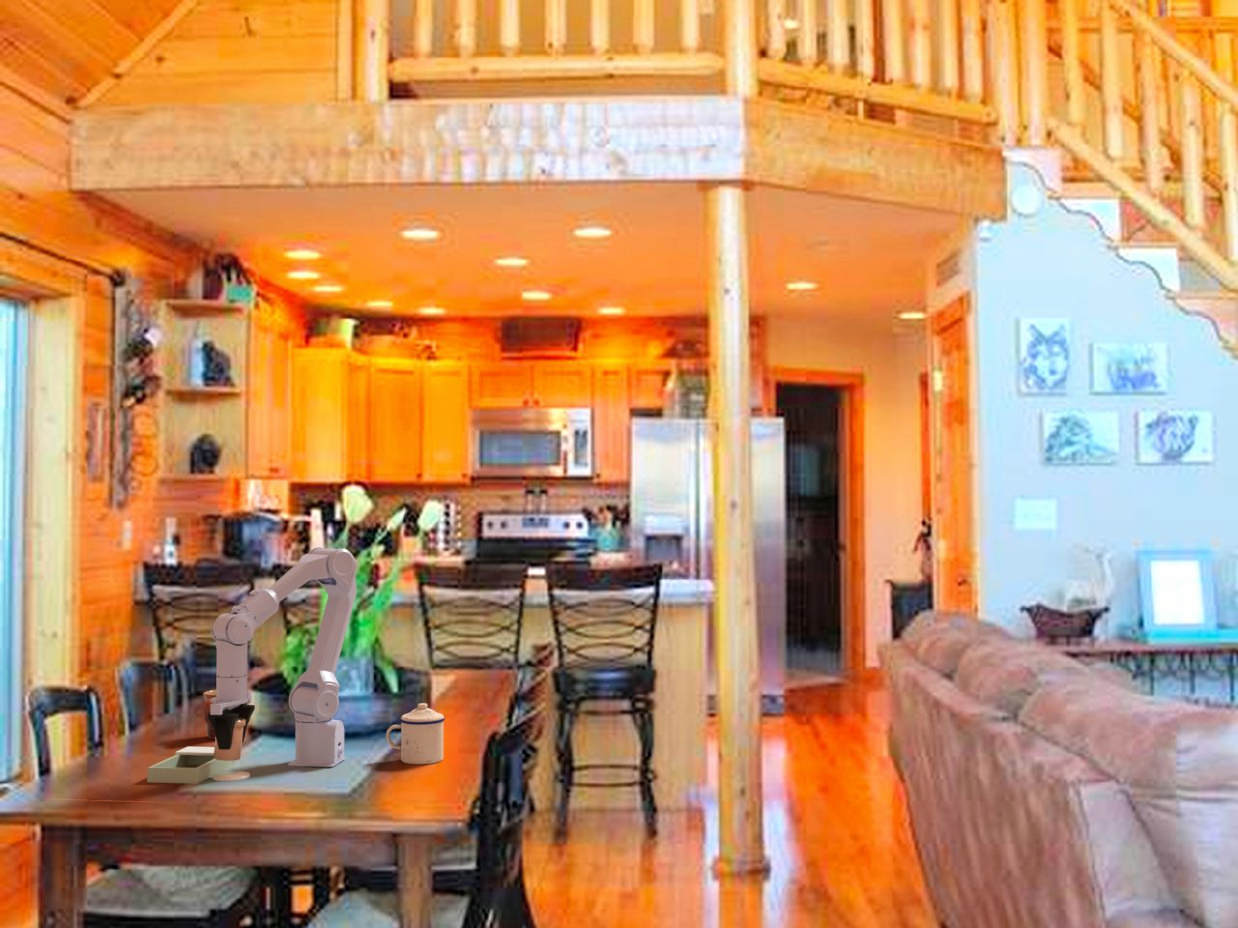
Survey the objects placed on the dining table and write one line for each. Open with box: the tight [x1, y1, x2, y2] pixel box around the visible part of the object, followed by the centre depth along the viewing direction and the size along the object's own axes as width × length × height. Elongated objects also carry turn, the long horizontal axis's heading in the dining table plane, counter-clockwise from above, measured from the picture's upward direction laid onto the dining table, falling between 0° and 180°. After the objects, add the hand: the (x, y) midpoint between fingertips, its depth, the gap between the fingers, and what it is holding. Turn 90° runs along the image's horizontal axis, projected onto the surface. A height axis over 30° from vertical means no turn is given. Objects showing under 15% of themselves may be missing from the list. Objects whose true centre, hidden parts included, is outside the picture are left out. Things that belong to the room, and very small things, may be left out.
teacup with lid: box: [385, 702, 446, 765], centre depth 256 cm, size 12×9×12 cm
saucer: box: [211, 770, 251, 782], centre depth 240 cm, size 7×7×1 cm
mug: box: [203, 689, 216, 741], centre depth 279 cm, size 12×9×10 cm
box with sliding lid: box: [146, 746, 234, 784], centre depth 243 cm, size 11×18×4 cm, turn 174°
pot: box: [213, 717, 246, 762], centre depth 240 cm, size 6×6×8 cm
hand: (231, 746), depth 240 cm, fingers closed on pot, 5 cm apart
